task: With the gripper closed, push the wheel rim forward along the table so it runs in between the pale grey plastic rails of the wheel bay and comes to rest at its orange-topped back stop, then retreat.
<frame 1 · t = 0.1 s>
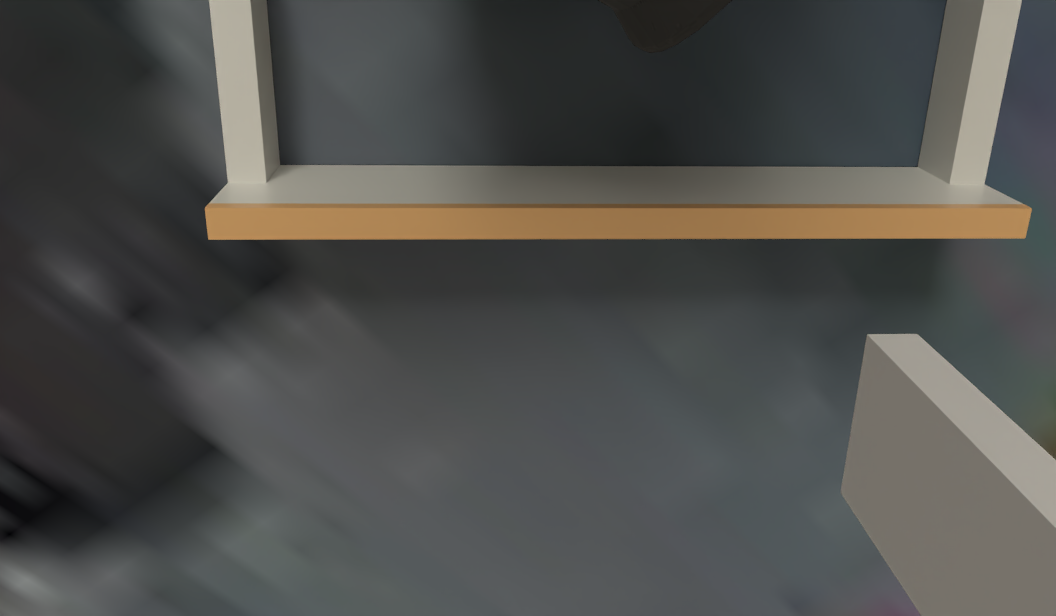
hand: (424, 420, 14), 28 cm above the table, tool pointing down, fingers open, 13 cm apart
wheel bay: (612, 23, 39), on the table
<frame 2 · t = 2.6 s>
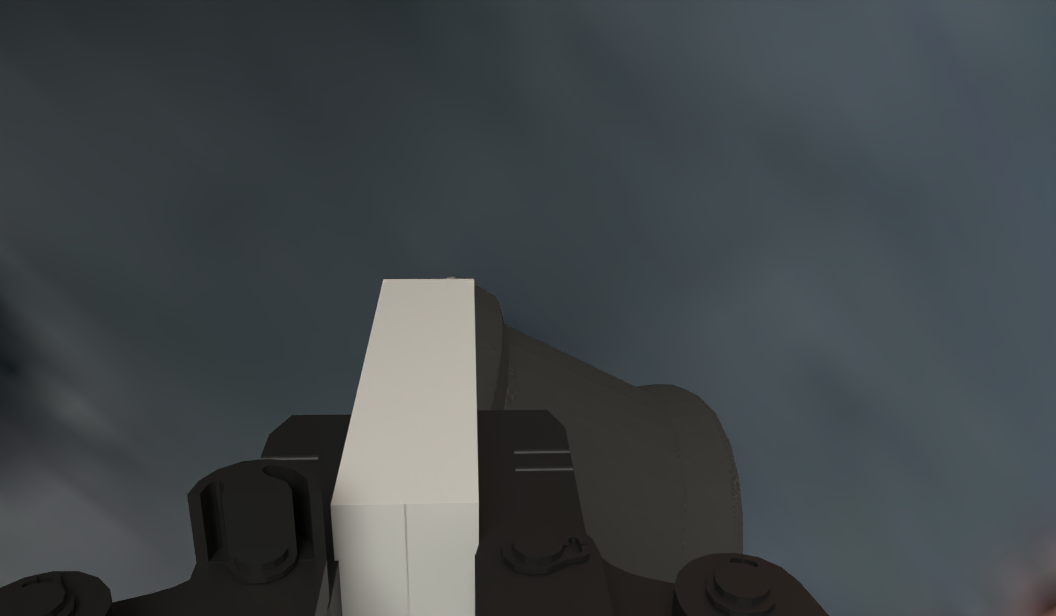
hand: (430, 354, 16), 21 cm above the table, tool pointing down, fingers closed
wheel rim: (452, 447, 41), on the table
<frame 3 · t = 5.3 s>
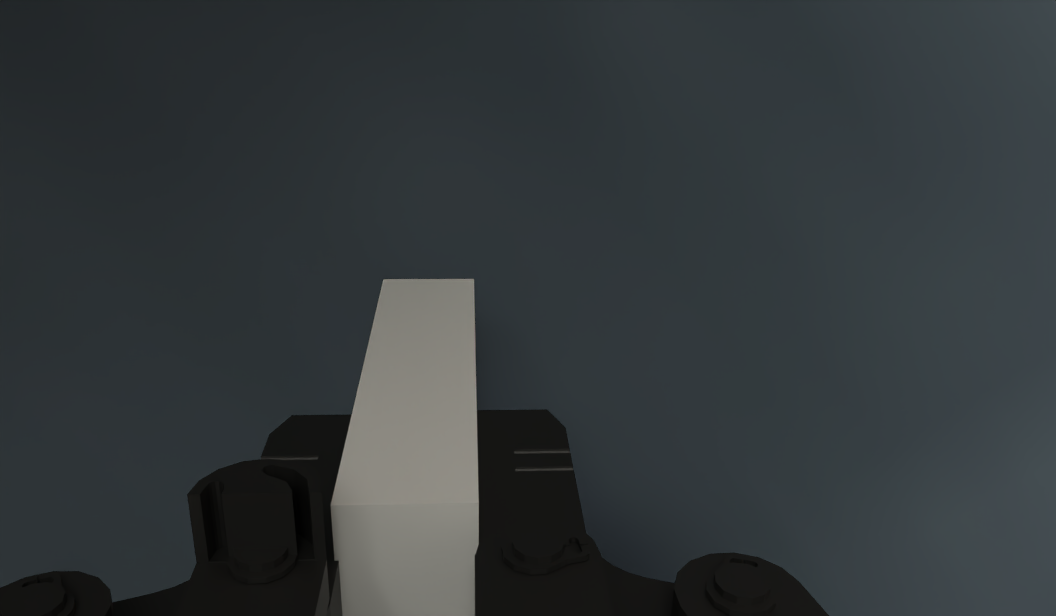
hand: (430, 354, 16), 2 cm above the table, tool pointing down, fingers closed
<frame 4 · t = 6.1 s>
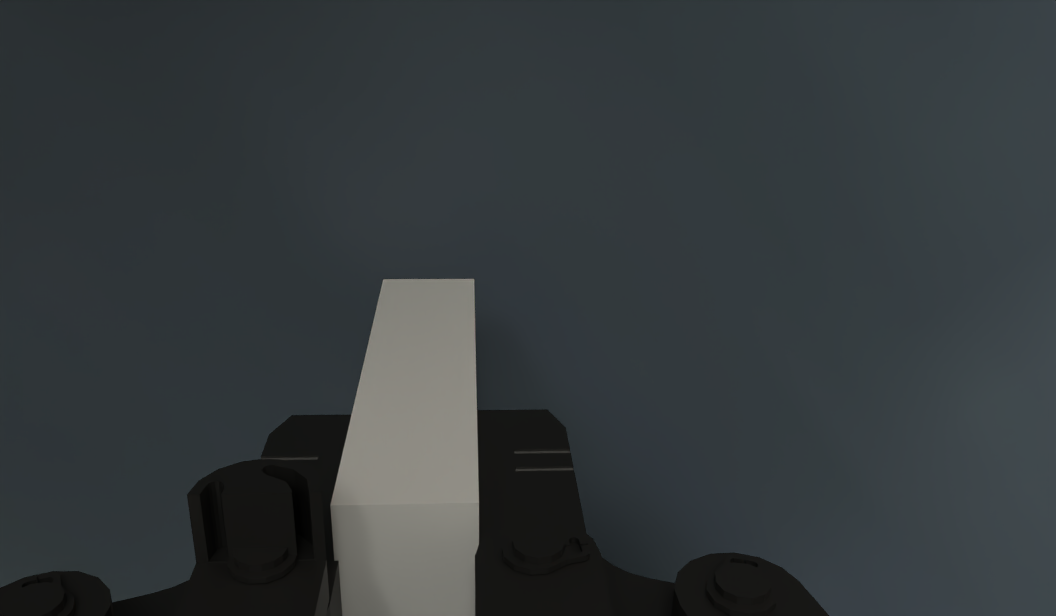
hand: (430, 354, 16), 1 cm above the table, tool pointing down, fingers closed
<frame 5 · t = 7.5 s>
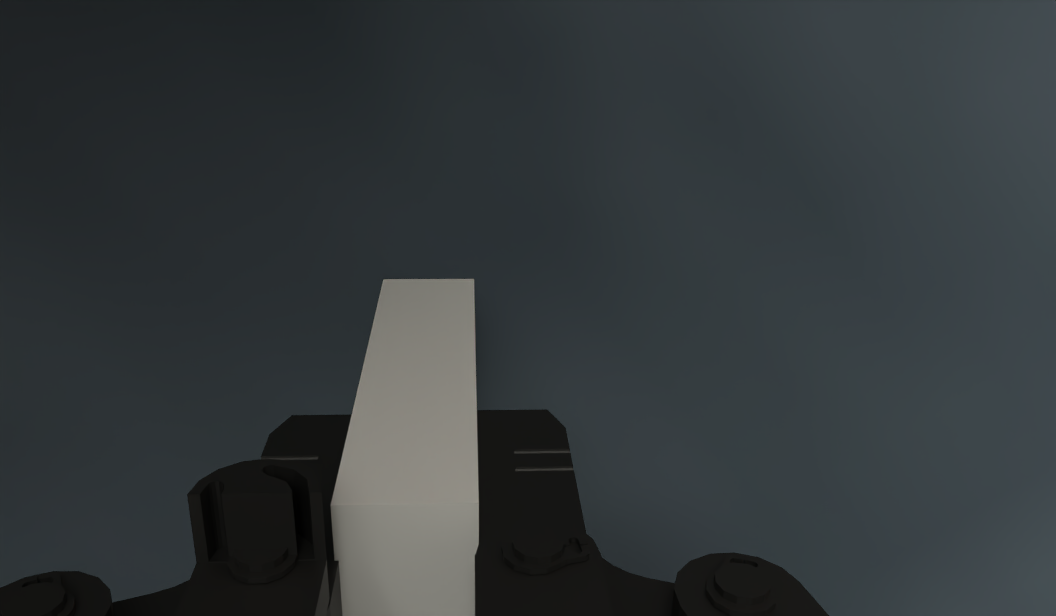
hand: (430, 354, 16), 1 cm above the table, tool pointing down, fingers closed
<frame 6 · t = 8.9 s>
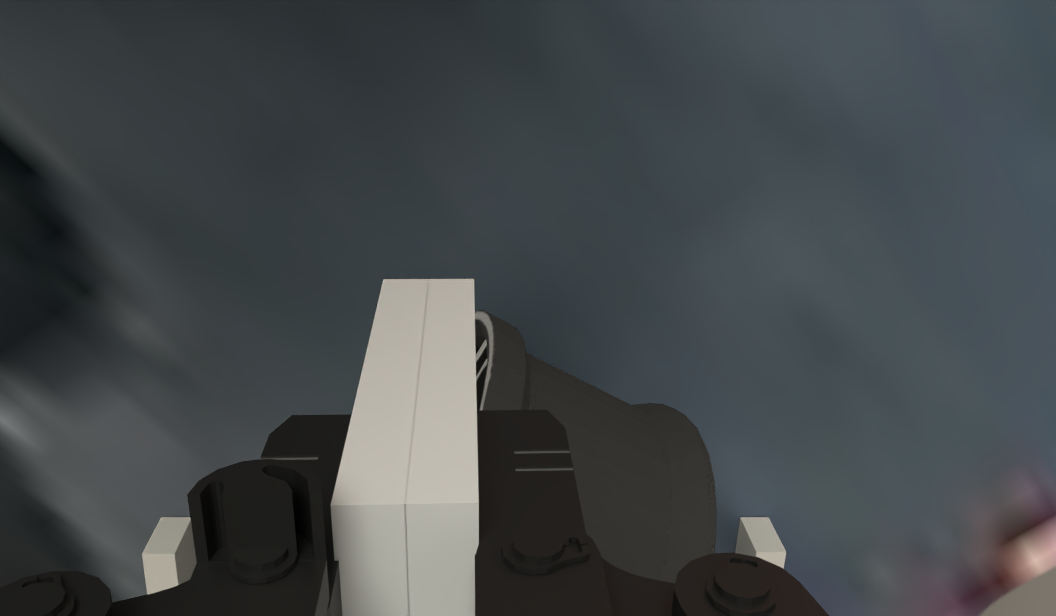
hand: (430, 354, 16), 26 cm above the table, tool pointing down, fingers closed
wheel rim: (472, 454, 47), on the table
wheel bay: (470, 565, 49), on the table
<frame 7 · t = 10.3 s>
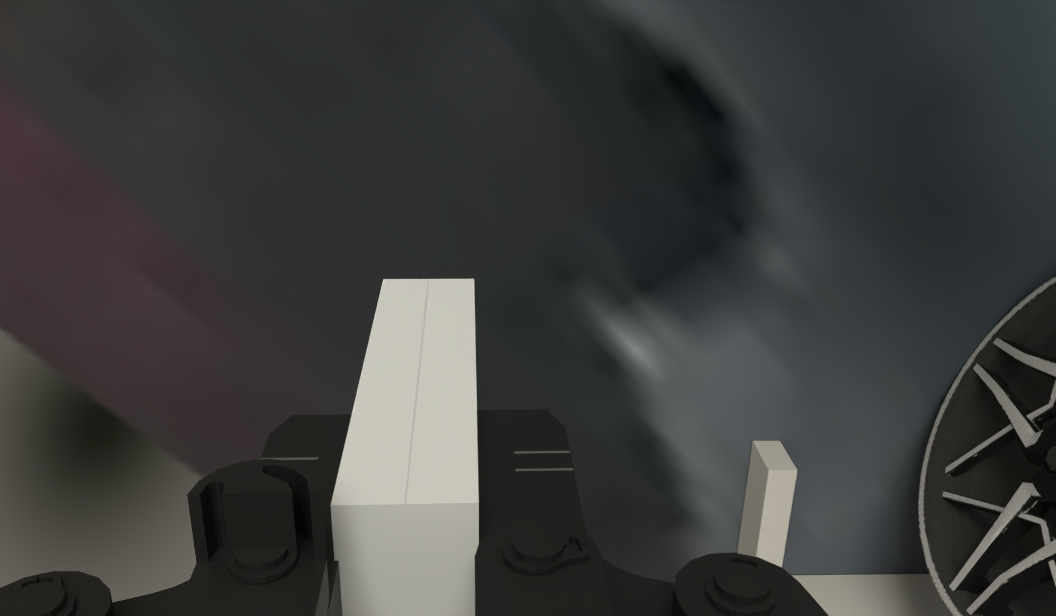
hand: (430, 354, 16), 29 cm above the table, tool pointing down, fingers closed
wheel rim: (1039, 380, 51), on the table
wheel bay: (1015, 486, 54), on the table
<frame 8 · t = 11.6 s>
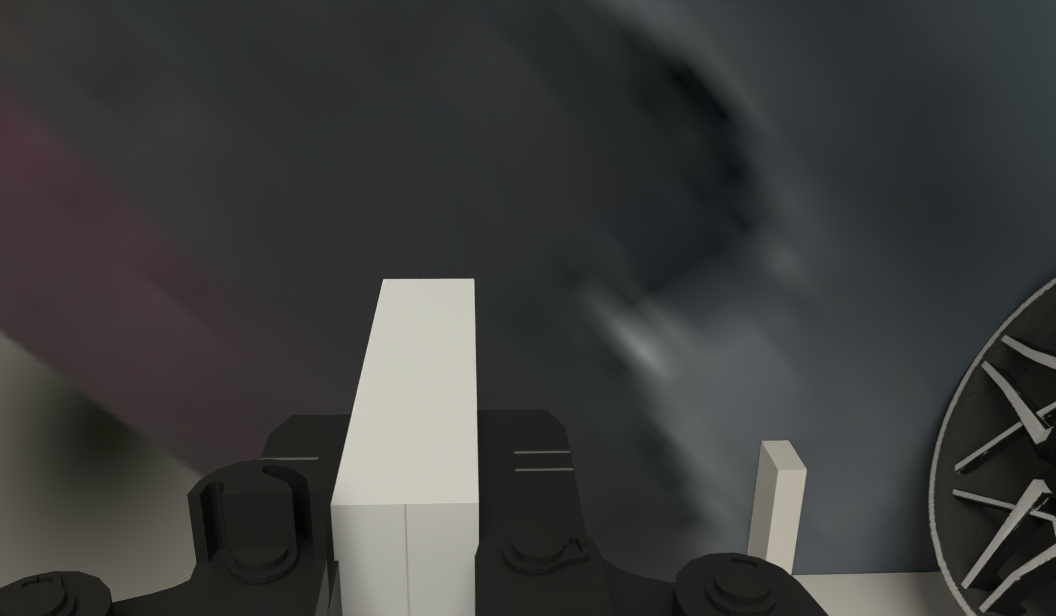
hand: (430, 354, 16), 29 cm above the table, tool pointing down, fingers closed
wheel rim: (1048, 377, 51), on the table
wheel bay: (1024, 483, 53), on the table
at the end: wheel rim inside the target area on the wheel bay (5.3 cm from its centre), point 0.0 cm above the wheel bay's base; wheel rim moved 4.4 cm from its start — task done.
